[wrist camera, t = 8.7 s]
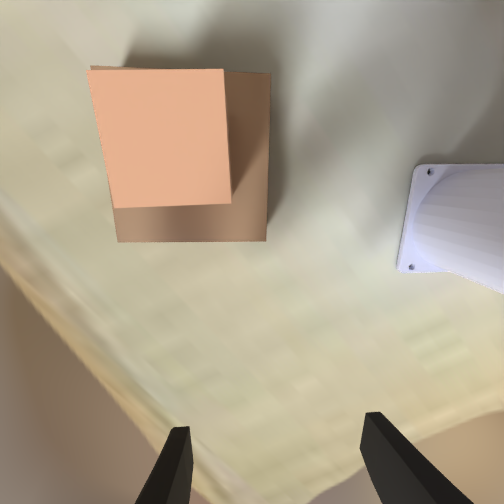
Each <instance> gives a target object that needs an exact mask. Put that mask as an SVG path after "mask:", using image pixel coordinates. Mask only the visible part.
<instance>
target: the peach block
mask: <svg viewBox="0 0 504 504" xmlns="http://www.w3.org/2000/svg"><path fill="white" fill-rule="evenodd" d="M86 72H87V77H88V82H89V87H90V92H91V97H92V102H93V106H94V111H95V116H96V121H97V126H98V131H99V136H100V141H101V146H102V150H103V155H104V160H105V165H106V170H107V175H108V180H109V185H110V190H111V195H112V199H113V204H114V208H133V207H157V206H182V205H206V204H231V202H232V197H233V191H232V173H231V155H230V138H229V120H228V107H227V97H226V88H225V79H224V70H223V69H153V70H86Z"/></svg>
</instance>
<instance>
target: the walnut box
mask: <svg viewBox="0 0 504 504" xmlns="http://www.w3.org/2000/svg"><path fill="white" fill-rule="evenodd" d="M90 67H91V70H153V69H157V68H134V67H111V66H90ZM224 79H225V88H226V97H227V107H228V120H229V138H230V155H231V173H232V191H233V197H232V202H231V204H206V205H182V206H157V207H133V208H114V204H113V199H112V195H111V190H110V195H111V201H112V208H113V214H114V221H115V227H116V234H117V240H118V242H243V241H266V230H267V195H268V161H269V126H270V91H271V74H269V73H247V72H224ZM107 176H108V175H107ZM108 182H109V180H108ZM109 189H110V185H109Z"/></svg>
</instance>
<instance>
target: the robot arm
mask: <svg viewBox="0 0 504 504" xmlns="http://www.w3.org/2000/svg"><path fill="white" fill-rule="evenodd" d="M428 169H430V173H429V174H427V171H428ZM409 265H411V267H410V268H409ZM396 267H397V270H398V271H399V272H401V273H422V272H452V273H454V274H456V275H459V276H461V277H463V278H466V279H468V280H471V281H473V282H475V283H478V284H480V285H482V286H485V287H487V288H490V289H492V290H494V291H497V292H499V293H502V294H504V164H421V165H418V166H416V168H415V169H414V172H413V177H412V183H411V188H410V194H409V199H408V205H407V210H406V216H405V221H404V227H403V233H402V238H401V244H400V249H399V255H398V260H397V266H396ZM360 451H361V453H362V456H363V459H364V462H365V465H366V467H367V470H368V472H369V475H370V477H371V480H372V482H373V485H374V487H375V489H376V491H377V493H378V495H379V497H380V500H381V502H382V503H383V504H474V503H473V502H472V501H471V500H469V499H468V498H467V497H466V496H465V495H464V494H463V493H462V492H461V491H460V490H459V489H457V488H456V487H455V486H454V485H453V484H452V483H451V482H450V481H449V480H448V479H447V478H446V477H445V476H444V475H443V474H442V473H441V472H440V471H439V470H437V468H435V466H433V465H432V464H431V463H430V462H429V461H428V460H427V459H426V458H425V457H424V456H423V455H422V454H421V453H420V452H419V451H418V450H417V449H416V448H415V447H414V446H413V445H412V444H411V443H410V442H409V441H408V440H407V439H406V438H405V437H404V436H403V435H402V434H401V433H400V431H399V430H398V429H397V428H396V427H395V426H394V425H393V424H392V423H391V422H390V421H389V420H388V419H387V418H386V417H385V416H384V415H383V414H382V413H381V412H369V413H366V415H365V420H364V426H363V432H362V438H361V444H360ZM193 463H194V462H193V454H192V445H191V436H190V427H189V426H186V427H174V428H173V429H171V431H170V434H169V436H168V438H167V440H166V443H165V445H164V447H163V449H162V451H161V453H160V456H159V458H158V460H157V462H156V464H155V466H154V468H153V470H152V472H151V474H150V476H149V478H148V480H147V481H146V483H145V485H144V487H143V489H142V491H141V493H140V495H139V497H138V498H137V500H136V503H135V504H189V499H190V491H191V482H192V473H193Z"/></svg>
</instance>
